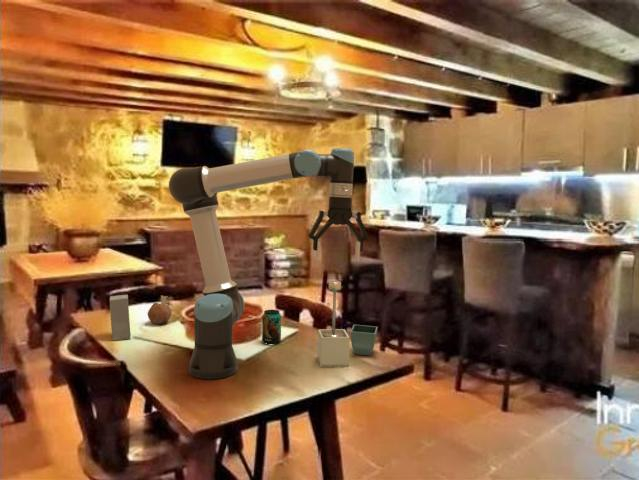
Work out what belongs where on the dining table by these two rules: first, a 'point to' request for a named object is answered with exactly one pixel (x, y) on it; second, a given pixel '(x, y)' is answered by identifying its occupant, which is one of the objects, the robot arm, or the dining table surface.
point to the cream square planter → (333, 349)
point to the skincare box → (120, 317)
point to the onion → (159, 313)
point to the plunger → (334, 309)
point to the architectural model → (163, 301)
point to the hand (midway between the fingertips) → (337, 260)
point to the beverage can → (271, 327)
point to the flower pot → (363, 339)
